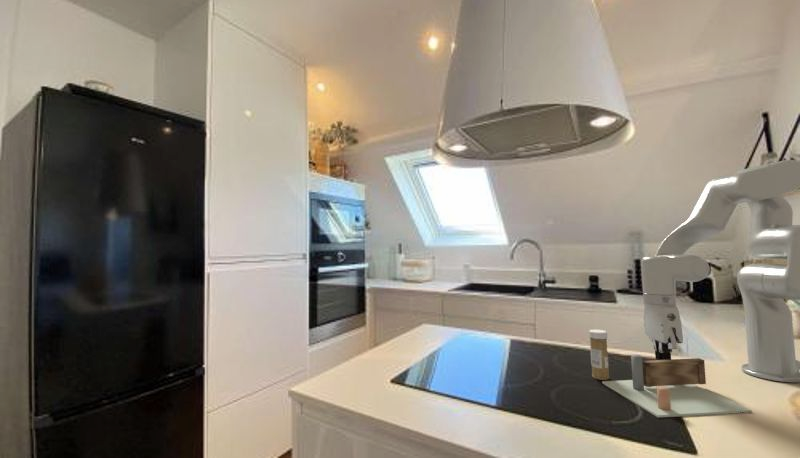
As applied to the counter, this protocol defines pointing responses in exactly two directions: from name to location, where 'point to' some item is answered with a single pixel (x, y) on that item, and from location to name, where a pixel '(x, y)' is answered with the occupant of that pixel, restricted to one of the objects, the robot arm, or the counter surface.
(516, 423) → the counter surface
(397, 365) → the counter surface
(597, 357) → the sprinkles bottle
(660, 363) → the gate
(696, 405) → the gate frame
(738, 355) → the counter surface
